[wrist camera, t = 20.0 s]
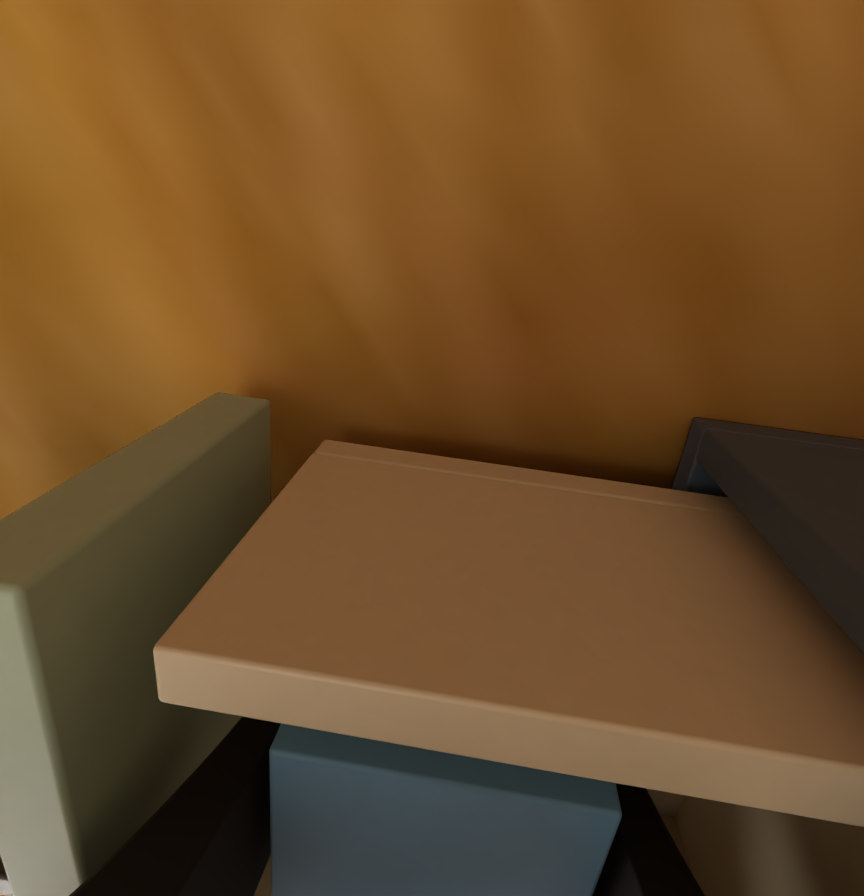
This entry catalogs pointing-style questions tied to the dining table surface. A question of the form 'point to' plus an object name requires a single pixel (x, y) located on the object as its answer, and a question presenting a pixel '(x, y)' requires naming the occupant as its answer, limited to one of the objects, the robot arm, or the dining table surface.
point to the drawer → (417, 645)
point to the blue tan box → (429, 822)
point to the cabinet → (791, 503)
